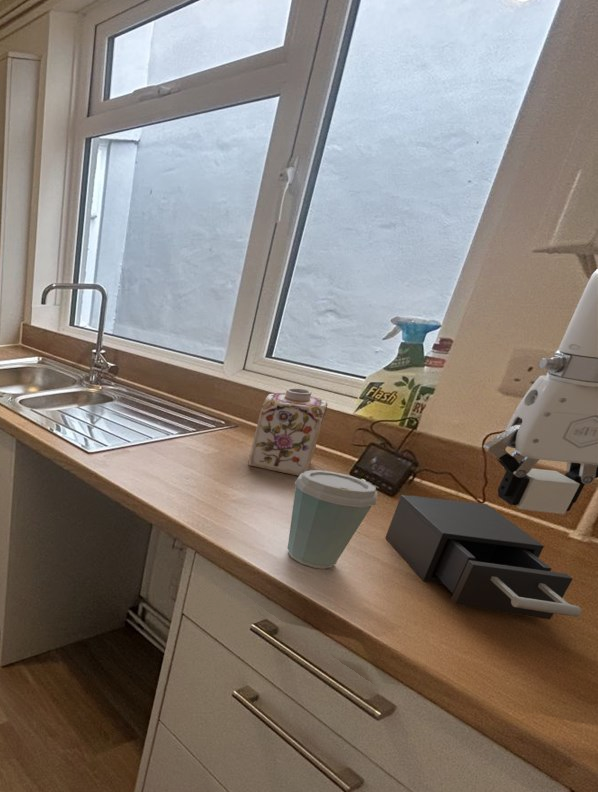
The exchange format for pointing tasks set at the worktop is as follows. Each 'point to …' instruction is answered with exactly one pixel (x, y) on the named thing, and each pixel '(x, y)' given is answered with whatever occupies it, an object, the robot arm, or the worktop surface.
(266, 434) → the decorative jar
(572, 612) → the drawer
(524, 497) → the block
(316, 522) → the disposable coffee cup
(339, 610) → the worktop surface
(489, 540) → the black cabinet
